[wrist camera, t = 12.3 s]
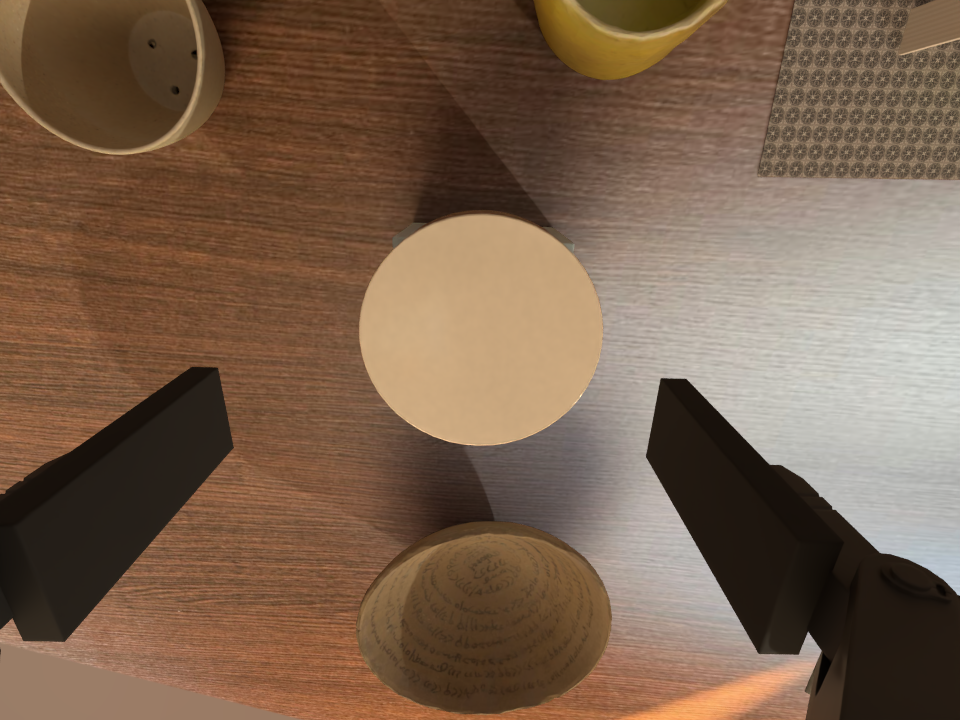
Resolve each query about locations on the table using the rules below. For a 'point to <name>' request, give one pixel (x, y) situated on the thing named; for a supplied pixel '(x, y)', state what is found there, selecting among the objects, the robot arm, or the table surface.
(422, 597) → the bowl
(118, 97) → the flower pot
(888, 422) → the table surface
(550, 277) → the small plate
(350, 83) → the table surface
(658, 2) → the mug
